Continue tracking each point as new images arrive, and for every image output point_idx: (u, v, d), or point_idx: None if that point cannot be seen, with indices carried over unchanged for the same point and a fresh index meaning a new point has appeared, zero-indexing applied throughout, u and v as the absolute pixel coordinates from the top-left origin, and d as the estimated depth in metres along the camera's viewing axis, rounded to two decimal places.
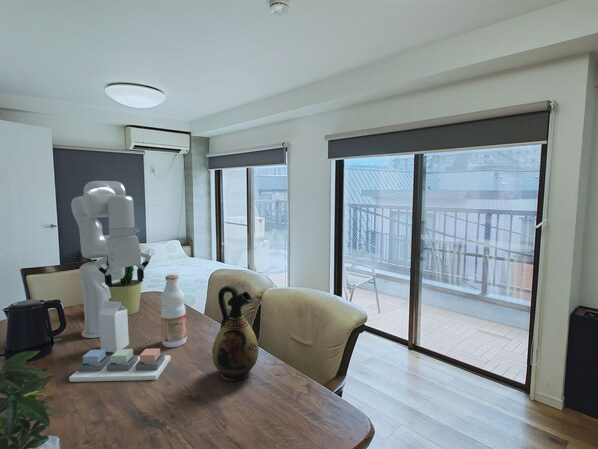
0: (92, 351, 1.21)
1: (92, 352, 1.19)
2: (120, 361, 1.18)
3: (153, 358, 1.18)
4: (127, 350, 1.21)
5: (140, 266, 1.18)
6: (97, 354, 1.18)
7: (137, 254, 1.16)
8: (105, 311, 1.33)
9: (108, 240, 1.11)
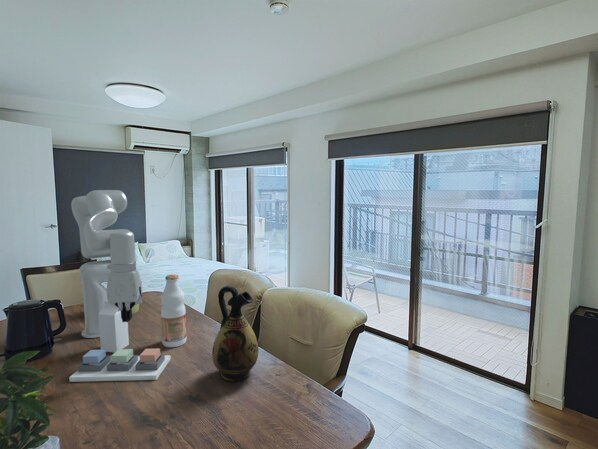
0: (92, 351, 1.21)
1: (92, 352, 1.19)
2: (120, 361, 1.18)
3: (153, 358, 1.18)
4: (127, 350, 1.21)
5: None
6: (97, 354, 1.18)
7: None
8: (105, 311, 1.33)
9: (137, 273, 1.18)
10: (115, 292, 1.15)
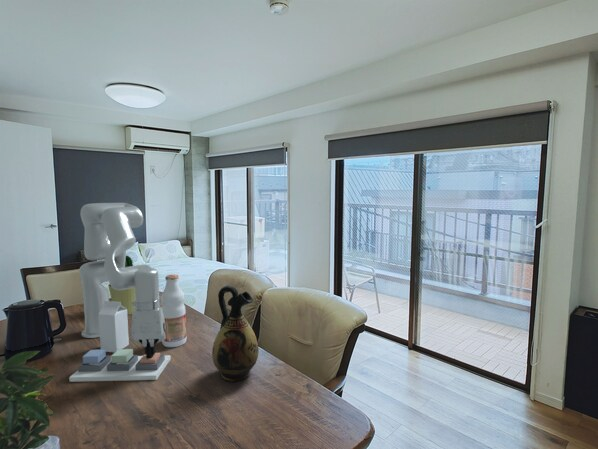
0: (92, 351, 1.21)
1: (92, 352, 1.19)
2: (120, 361, 1.18)
3: (153, 362, 1.18)
4: (127, 350, 1.21)
5: None
6: (97, 354, 1.18)
7: None
8: (105, 311, 1.33)
9: (161, 309, 1.19)
10: (140, 329, 1.16)
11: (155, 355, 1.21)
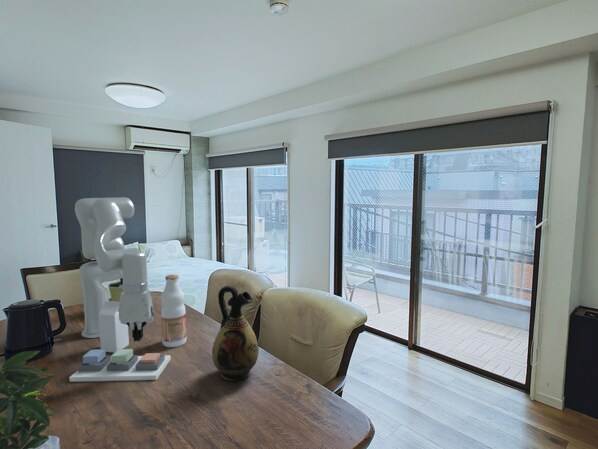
0: (92, 351, 1.21)
1: (92, 352, 1.19)
2: (120, 361, 1.18)
3: None
4: (127, 350, 1.21)
5: None
6: (97, 354, 1.18)
7: None
8: (105, 311, 1.33)
9: (149, 292, 1.19)
10: (127, 312, 1.16)
11: (155, 355, 1.21)
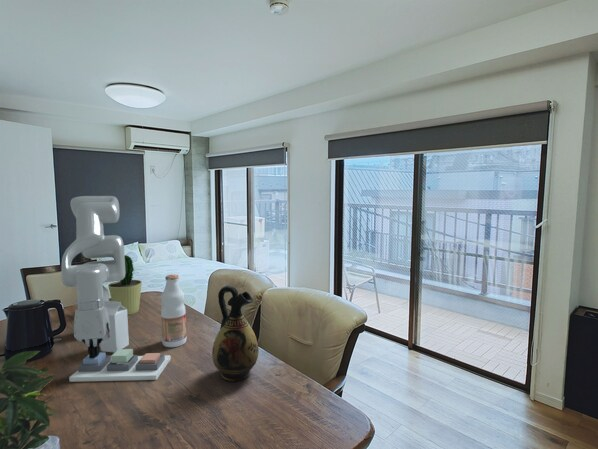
0: None
1: None
2: (120, 361, 1.18)
3: None
4: (127, 350, 1.21)
5: None
6: (97, 357, 1.18)
7: None
8: None
9: (105, 309, 1.18)
10: (82, 329, 1.15)
11: (155, 355, 1.21)
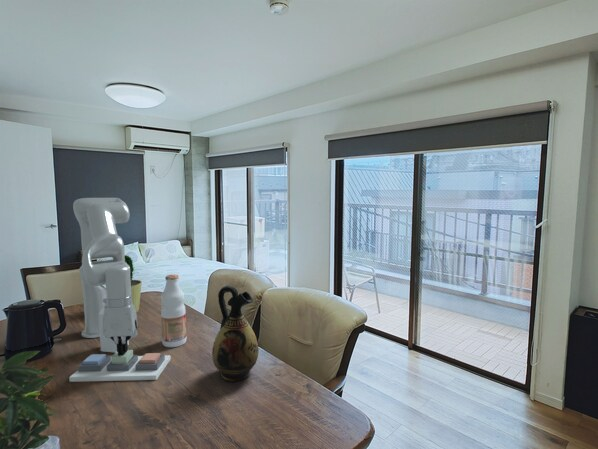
0: (92, 356, 1.21)
1: (92, 357, 1.20)
2: (120, 362, 1.18)
3: None
4: (127, 351, 1.21)
5: None
6: (97, 359, 1.19)
7: None
8: None
9: (133, 306, 1.19)
10: (111, 326, 1.16)
11: (155, 355, 1.21)
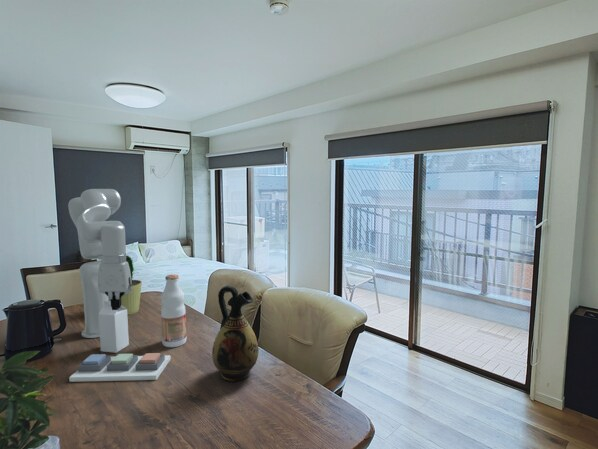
0: (92, 356, 1.21)
1: (92, 357, 1.20)
2: None
3: None
4: (127, 355, 1.21)
5: None
6: (97, 359, 1.19)
7: None
8: (105, 311, 1.33)
9: (127, 264, 1.23)
10: (105, 282, 1.20)
11: (155, 355, 1.21)
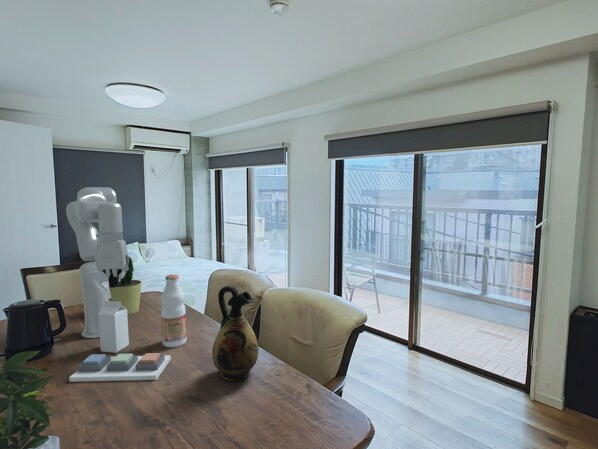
0: (92, 356, 1.21)
1: (92, 357, 1.20)
2: None
3: None
4: (127, 355, 1.21)
5: None
6: (97, 359, 1.19)
7: None
8: (105, 311, 1.33)
9: (124, 242, 1.26)
10: (103, 259, 1.23)
11: (155, 355, 1.21)
